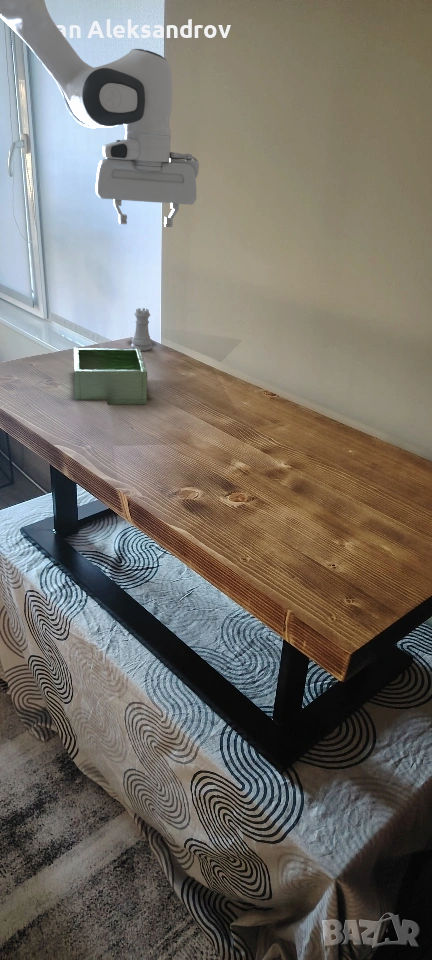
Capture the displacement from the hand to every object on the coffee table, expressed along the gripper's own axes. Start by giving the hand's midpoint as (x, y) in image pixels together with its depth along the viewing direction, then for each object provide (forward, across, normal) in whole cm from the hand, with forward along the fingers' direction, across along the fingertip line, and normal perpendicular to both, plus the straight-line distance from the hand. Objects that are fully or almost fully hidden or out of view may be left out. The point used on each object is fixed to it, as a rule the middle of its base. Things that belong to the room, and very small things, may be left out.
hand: (145, 225), depth 130 cm
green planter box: (+22, +10, +36) cm, 43 cm away
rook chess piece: (+23, +2, +12) cm, 26 cm away
